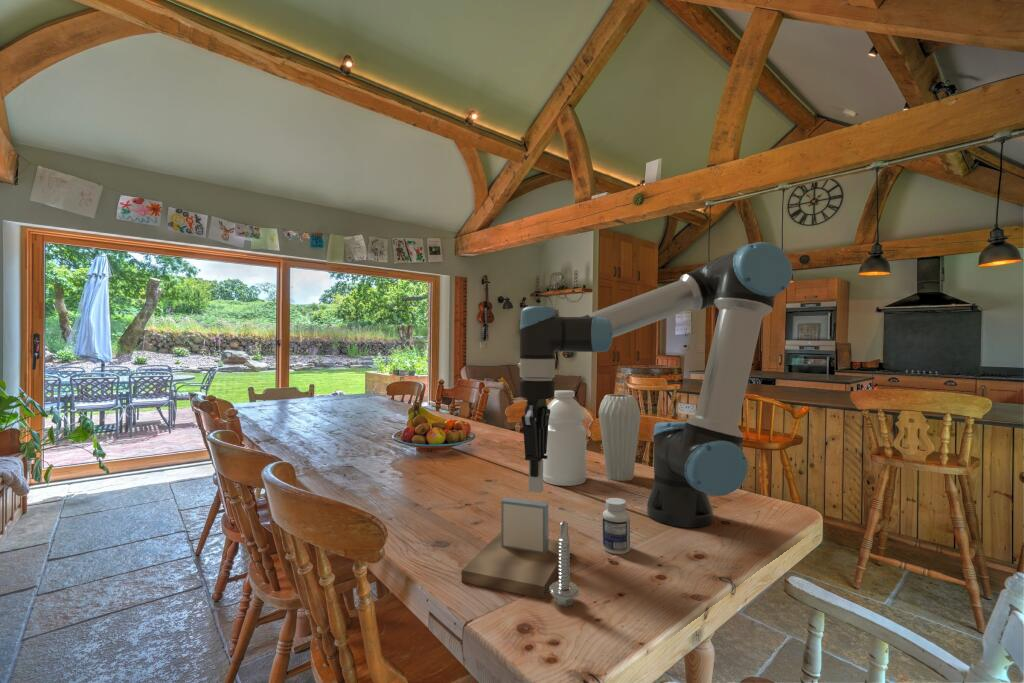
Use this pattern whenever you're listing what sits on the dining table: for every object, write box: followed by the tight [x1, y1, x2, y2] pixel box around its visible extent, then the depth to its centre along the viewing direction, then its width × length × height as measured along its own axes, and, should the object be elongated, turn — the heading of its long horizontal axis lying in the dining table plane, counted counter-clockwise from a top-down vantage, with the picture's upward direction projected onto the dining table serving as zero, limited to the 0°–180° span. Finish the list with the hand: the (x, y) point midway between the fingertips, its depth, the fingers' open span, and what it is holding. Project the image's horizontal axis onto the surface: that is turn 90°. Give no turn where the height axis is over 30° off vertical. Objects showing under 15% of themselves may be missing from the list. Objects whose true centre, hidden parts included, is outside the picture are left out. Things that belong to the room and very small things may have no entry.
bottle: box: [542, 389, 587, 487], centre depth 140 cm, size 14×14×28 cm
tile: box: [500, 497, 550, 554], centre depth 86 cm, size 9×2×9 cm, turn 69°
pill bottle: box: [602, 497, 631, 555], centre depth 91 cm, size 5×5×10 cm
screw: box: [548, 520, 580, 608], centre depth 71 cm, size 13×5×5 cm
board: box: [461, 531, 571, 600], centre depth 83 cm, size 15×18×2 cm
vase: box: [598, 393, 642, 482], centre depth 143 cm, size 13×13×26 cm
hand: (535, 490), depth 94 cm, fingers closed
